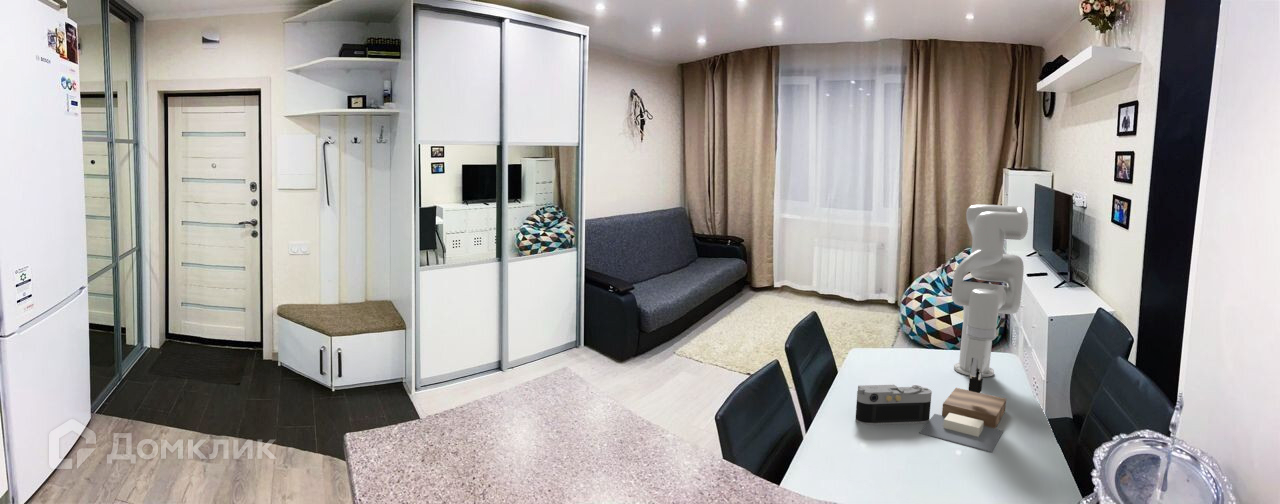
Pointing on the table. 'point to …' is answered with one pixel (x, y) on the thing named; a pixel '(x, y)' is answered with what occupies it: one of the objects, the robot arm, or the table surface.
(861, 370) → the table surface
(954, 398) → the brown flat block
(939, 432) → the mat
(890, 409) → the camera
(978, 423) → the cream rectangular block
